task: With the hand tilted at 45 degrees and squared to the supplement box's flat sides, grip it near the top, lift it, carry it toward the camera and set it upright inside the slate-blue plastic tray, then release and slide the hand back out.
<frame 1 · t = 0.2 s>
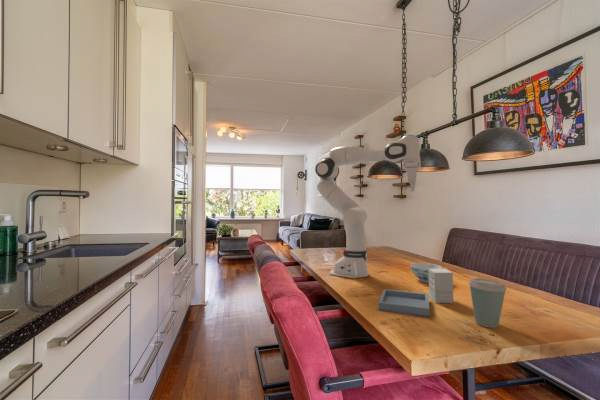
hand: (412, 191, 150), 48 cm above the table, tool pointing down, fingers open, 8 cm apart
chinaware: (426, 281, 148), on the table
disposable coffee cup: (487, 324, 95), on the table
supplement box: (440, 300, 118), on the table
tray: (404, 305, 113), on the table
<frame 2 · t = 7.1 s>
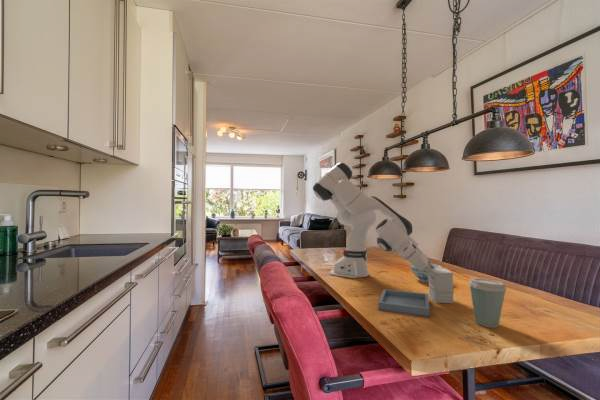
hand: (433, 272, 119), 12 cm above the table, tool tilted 45°, fingers open, 8 cm apart
supplement box: (440, 300, 118), on the table, touching gripper
everything else where it was.
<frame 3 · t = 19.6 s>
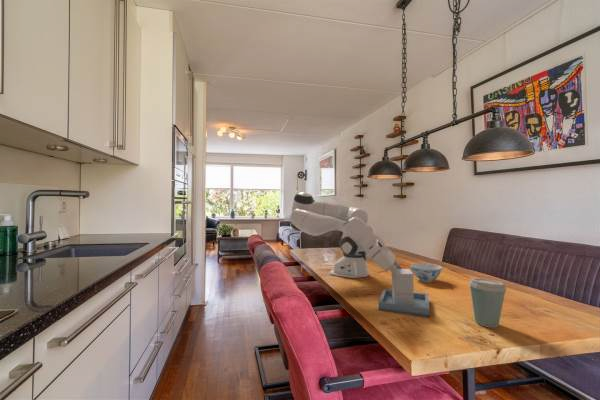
hand: (400, 272, 113), 13 cm above the table, tool tilted 45°, fingers open, 8 cm apart
supplement box: (402, 302, 114), point 1 cm above the table, touching gripper, tray
everything else where it was.
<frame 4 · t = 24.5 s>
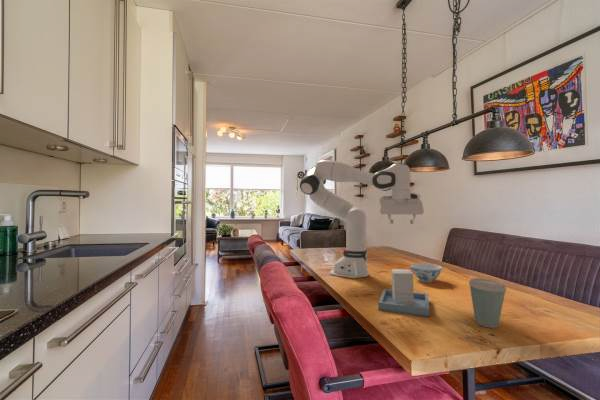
hand: (401, 223, 139), 31 cm above the table, tool pointing down, fingers open, 8 cm apart
supplement box: (402, 302, 114), point 1 cm above the table, touching tray
everything else where it was.
at the end: supplement box inside the target area on the tray (1.1 cm from its centre), point 0.8 cm above the tray's base; supplement box tilted 0°; the gripper is holding nothing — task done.
